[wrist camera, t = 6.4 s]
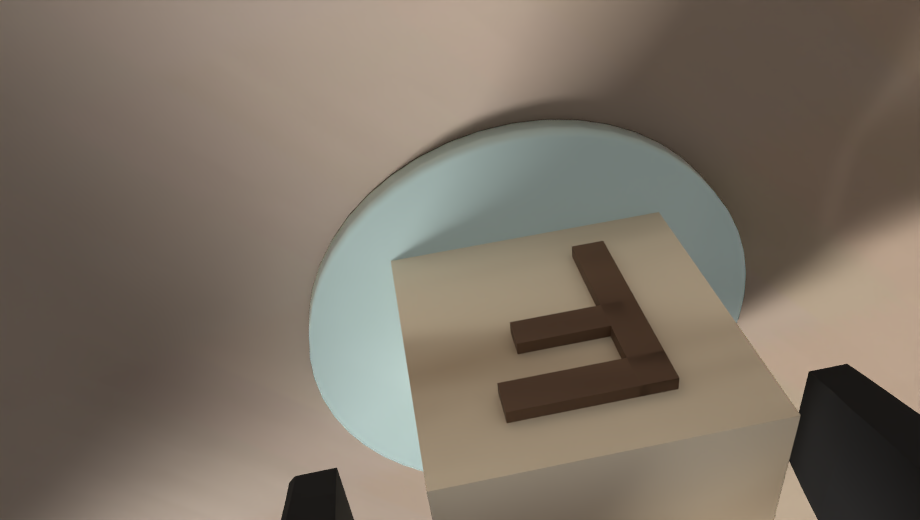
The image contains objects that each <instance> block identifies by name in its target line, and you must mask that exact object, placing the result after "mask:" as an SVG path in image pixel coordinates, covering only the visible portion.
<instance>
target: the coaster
mask: <svg viewBox="0 0 920 520" xmlns="http://www.w3.org/2000/svg"><path fill="white" fill-rule="evenodd" d="M657 212H659V213H660V214H661V216H662V217H663V219H664V220H665V221H666V223H667V224H668V226H669V227H670V229H671V230H672V231H673V233H674V234H675V236H676V237H677V239H678V240H679V242H680V243H681V244H682V246H683V247H684V249H685V250H686V252H687V253H688V254H689V256H690V257H691V259H692V260H693V262H694V263H695V264H696V266H697V267H698V269H699V270H700V272H701V273H702V275H703V276H704V277H705V279H706V280H707V282H708V283H709V285H710V286H711V287H712V289H713V290H714V292H715V293H716V295H717V296H718V297H719V299H720V300H721V302H722V303H723V305H724V306H725V308H726V309H727V310H728V312H729V313H730V315H731V316H732V318H733V319H734V320H735V322H736V323H737V321H738V318H739V315H740V311H741V307H742V302H743V298H744V291H745V279H746V269H745V258H744V250H743V247H742V243H741V239H740V236H739V232H738V230H737V228H736V226H735V223H734V221H733V219H732V217H731V215H730V213H729V211H728V210H727V208H726V207H725V206H724V204H723V203H722V202H721V200H720V199H719V198H718V196H717V195H716V194H715V192H714V191H713V190H712V189H711V188H710V186H709V185H708V184H707V183H706V182H705V180H704V179H703V178H702V177H701V176H700V174H699V173H698V172H696V171H695V170H694V169H693V168H692V167H691V166H690V165H689V164H688V163H687V162H686V161H685V160H684V159H683V158H681V157H680V156H678V155H677V154H675V153H674V152H672V151H671V150H669V149H668V148H666V147H665V146H663V145H662V144H660V143H658V142H656V141H654V140H651V139H649V138H647V137H645V136H643V135H640V134H638V133H636V132H633V131H629V130H626V129H622V128H619V127H615V126H612V125H608V124H602V123H595V122H588V121H581V120H538V121H529V122H521V123H512V124H508V125H504V126H499V127H495V128H491V129H487V130H483V131H479V132H476V133H473V134H471V135H468V136H465V137H462V138H460V139H457V140H454V141H451V142H449V143H446V144H444V145H442V146H440V147H438V148H436V149H434V150H432V151H430V152H428V153H426V154H424V155H423V156H421V157H419V158H417V159H415V160H414V161H412V162H411V163H409V164H408V165H406V166H405V167H403V168H402V169H400V170H399V171H397V172H396V173H394V174H393V175H391V176H390V177H389V178H388V179H387V180H385V181H384V182H383V183H382V184H381V185H379V186H378V187H377V188H376V189H375V190H374V191H372V192H371V193H370V194H369V195H368V196H367V197H366V198H365V199H364V200H363V201H362V202H361V203H360V204H359V206H358V207H357V208H356V209H355V210H354V211H353V212H352V213H351V214H350V215H349V217H348V218H347V219H346V220H345V222H344V223H343V225H342V226H341V228H340V229H339V231H338V232H337V234H336V235H335V237H334V238H333V239H332V241H331V243H330V245H329V247H328V249H327V251H326V253H325V255H324V257H323V259H322V261H321V263H320V265H319V269H318V272H317V275H316V278H315V281H314V285H313V288H312V294H311V301H310V308H309V345H310V360H311V365H312V369H313V374H314V378H315V381H316V383H317V386H318V388H319V390H320V393H321V395H322V398H323V399H324V401H325V403H326V404H327V406H328V407H329V409H330V410H331V412H332V413H333V415H334V416H335V418H336V419H337V420H338V421H339V422H340V423H341V424H342V425H343V426H344V427H345V429H346V430H347V431H348V432H349V433H351V434H352V435H353V436H354V437H355V438H357V439H358V440H359V441H360V442H362V443H363V444H364V445H365V446H367V447H369V448H370V449H372V450H374V451H375V452H377V453H379V454H380V455H382V456H384V457H386V458H388V459H391V460H393V461H395V462H397V463H400V464H402V465H404V466H408V467H411V468H414V469H417V470H420V471H423V465H422V459H421V452H420V446H419V440H418V433H417V427H416V420H415V414H414V407H413V401H412V395H411V388H410V382H409V375H408V369H407V363H406V356H405V350H404V343H403V337H402V330H401V324H400V318H399V311H398V305H397V298H396V292H395V286H394V279H393V273H392V266H391V261H393V260H399V259H404V258H410V257H415V256H421V255H426V254H432V253H437V252H443V251H448V250H454V249H459V248H465V247H470V246H476V245H481V244H487V243H492V242H498V241H503V240H509V239H514V238H520V237H525V236H531V235H536V234H541V233H547V232H552V231H558V230H563V229H569V228H574V227H580V226H585V225H591V224H596V223H602V222H607V221H613V220H618V219H624V218H629V217H635V216H640V215H646V214H651V213H657Z"/></svg>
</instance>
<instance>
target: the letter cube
mask: <svg viewBox="0 0 920 520" xmlns="http://www.w3.org/2000/svg"><path fill="white" fill-rule="evenodd" d="M391 266H392V273H393V279H394V286H395V292H396V298H397V305H398V311H399V318H400V324H401V330H402V337H403V343H404V350H405V356H406V363H407V369H408V375H409V382H410V388H411V395H412V401H413V407H414V414H415V420H416V427H417V433H418V440H419V446H420V452H421V459H422V465H423V472H424V478H425V484H426V491H427V496H428V501H429V505H430V510H431V515H432V519H433V520H774V517H775V513H776V509H777V505H778V502H779V498H780V494H781V490H782V486H783V482H784V478H785V474H786V470H787V467H788V463H789V459H790V455H791V451H792V447H793V443H794V439H795V435H796V432H797V428H798V424H799V420H800V416H801V415H800V414H799V412H798V411H797V409H796V408H795V407H794V405H793V404H792V402H791V401H790V399H789V398H788V396H787V395H786V394H785V392H784V391H783V389H782V388H781V386H780V385H779V384H778V382H777V381H776V379H775V378H774V376H773V375H772V374H771V372H770V371H769V369H768V368H767V366H766V365H765V363H764V362H763V361H762V359H761V358H760V356H759V355H758V353H757V352H756V351H755V349H754V348H753V346H752V345H751V343H750V342H749V341H748V339H747V338H746V336H745V335H744V333H743V332H742V330H741V329H740V328H739V326H738V325H737V323H736V322H735V320H734V319H733V318H732V316H731V315H730V313H729V312H728V310H727V309H726V308H725V306H724V305H723V303H722V302H721V300H720V299H719V297H718V296H717V295H716V293H715V292H714V290H713V289H712V287H711V286H710V285H709V283H708V282H707V280H706V279H705V277H704V276H703V275H702V273H701V272H700V270H699V269H698V267H697V266H696V264H695V263H694V262H693V260H692V259H691V257H690V256H689V254H688V253H687V252H686V250H685V249H684V247H683V246H682V244H681V243H680V242H679V240H678V239H677V237H676V236H675V234H674V233H673V231H672V230H671V229H670V227H669V226H668V224H667V223H666V221H665V220H664V219H663V217H662V216H661V214H660V213H659V212H657V213H651V214H646V215H640V216H635V217H629V218H624V219H618V220H613V221H607V222H602V223H596V224H591V225H585V226H580V227H574V228H569V229H563V230H558V231H552V232H547V233H541V234H536V235H531V236H525V237H520V238H514V239H509V240H503V241H498V242H492V243H487V244H481V245H476V246H470V247H465V248H459V249H454V250H448V251H443V252H437V253H432V254H426V255H421V256H415V257H410V258H404V259H399V260H393V261H391Z"/></svg>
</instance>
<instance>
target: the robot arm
mask: <svg viewBox="0 0 920 520" xmlns="http://www.w3.org/2000/svg"><path fill="white" fill-rule="evenodd" d="M799 414H800V415H801V416H800V420H799V424H798V428H797V432H796V435H795V439H794V443H793V447H792V451H791V455H790V459H789V461H790V463H791V466H792V468H793V470H794V472H795V474H796V476H797V478H798V481H799V483H800V485H801V487H802V489H803V491H804V493H805V495H806V497H807V499H808V501H809V503H810V505H811V507H812V509H813V511H814V513H815V515H816V517H817V519H818V520H920V414H918V413H917V412H915V411H914V410H913V409H911V408H910V407H908V406H907V405H905V404H904V403H903V402H901V401H900V400H898V399H897V398H896V397H894V396H893V395H891V394H890V393H888V392H887V391H886V390H884V389H883V388H881V387H880V386H879V385H877V384H876V383H874V382H873V381H871V380H870V379H869V378H867V377H866V376H864V375H863V374H861V373H860V372H858V371H857V370H855V369H854V368H853V367H851V366H850V365H848V364H844V365H839V366H834V367H829V368H824V369H819V370H814V371H810V372H809V373H808V378H807V382H806V386H805V390H804V394H803V398H802V402H801V406H800V410H799ZM281 520H354V519H353V516H352V513H351V509H350V506H349V503H348V500H347V497H346V494H345V491H344V488H343V485H342V482H341V479H340V476H339V473H338V470H337V468H333V469H328V470H323V471H319V472H314V473H309V474H304V475H299V476H295V477H294V478H293V479H292V480H291V481H290V483H289V487H288V492H287V496H286V501H285V505H284V510H283V514H282V518H281Z"/></svg>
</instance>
